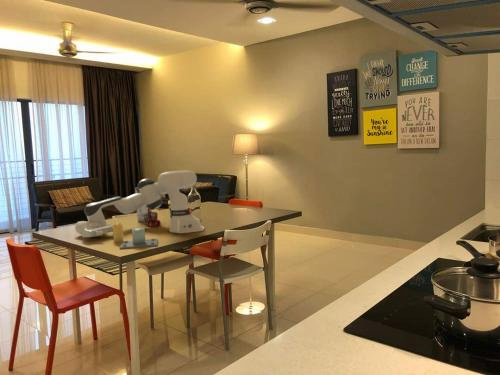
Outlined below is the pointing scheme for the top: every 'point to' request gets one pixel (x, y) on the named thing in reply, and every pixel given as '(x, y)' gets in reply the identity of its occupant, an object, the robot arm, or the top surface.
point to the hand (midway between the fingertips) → (108, 231)
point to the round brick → (118, 232)
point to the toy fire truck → (153, 219)
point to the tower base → (130, 244)
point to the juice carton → (142, 211)
